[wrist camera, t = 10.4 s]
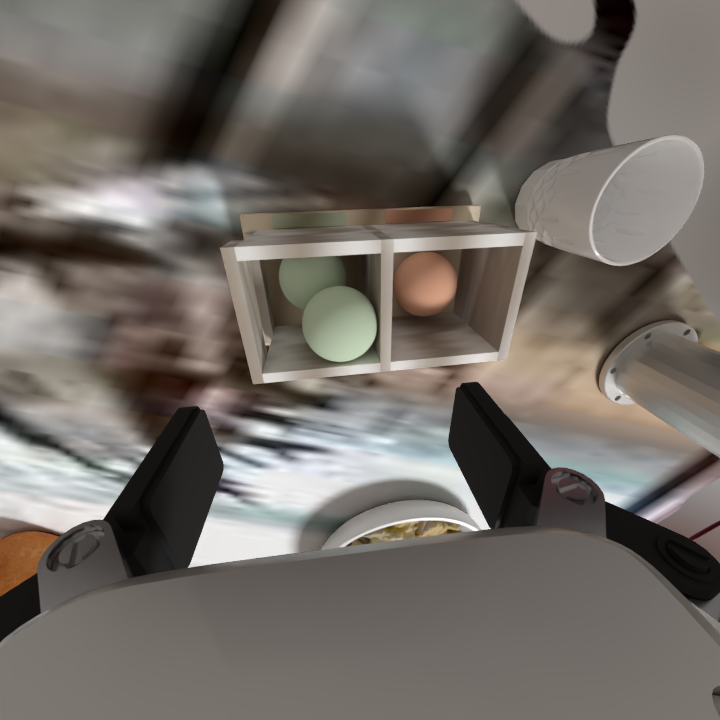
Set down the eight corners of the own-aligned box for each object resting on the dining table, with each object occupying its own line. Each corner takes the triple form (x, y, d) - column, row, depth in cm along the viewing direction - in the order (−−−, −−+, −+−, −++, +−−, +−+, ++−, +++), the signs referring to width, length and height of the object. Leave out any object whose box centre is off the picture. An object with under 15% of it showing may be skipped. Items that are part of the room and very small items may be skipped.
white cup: (493, 199, 28) (573, 202, 20) (569, 130, 26) (694, 100, 18) (528, 261, 32) (609, 287, 23) (597, 204, 30) (713, 210, 21)
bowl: (276, 549, 51) (271, 604, 44) (428, 460, 45) (448, 508, 38) (374, 602, 65) (381, 650, 58) (498, 539, 59) (523, 584, 52)
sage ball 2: (373, 266, 20) (403, 337, 22) (333, 278, 25) (361, 336, 27) (308, 305, 18) (348, 381, 20) (277, 311, 23) (312, 372, 25)
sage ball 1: (343, 250, 28) (344, 230, 22) (348, 311, 28) (350, 306, 23) (282, 254, 28) (268, 234, 22) (288, 315, 28) (276, 311, 23)
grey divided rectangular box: (473, 204, 28) (549, 211, 19) (456, 323, 34) (508, 371, 25) (242, 213, 26) (205, 225, 17) (267, 339, 32) (249, 397, 23)
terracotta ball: (445, 245, 28) (473, 256, 23) (439, 302, 31) (463, 323, 26) (387, 248, 28) (403, 260, 23) (386, 306, 30) (400, 328, 26)
